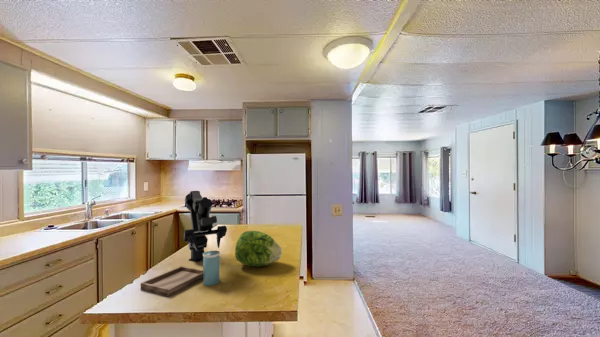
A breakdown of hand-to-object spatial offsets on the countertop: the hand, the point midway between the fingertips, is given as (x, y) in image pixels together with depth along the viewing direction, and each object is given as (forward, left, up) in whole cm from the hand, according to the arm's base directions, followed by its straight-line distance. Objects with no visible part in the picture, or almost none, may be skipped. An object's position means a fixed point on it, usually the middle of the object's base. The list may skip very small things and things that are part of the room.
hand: (208, 249), depth 113 cm
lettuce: (+13, +21, -13) cm, 28 cm away
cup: (+5, -4, -12) cm, 14 cm away
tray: (-9, -10, -12) cm, 18 cm away
